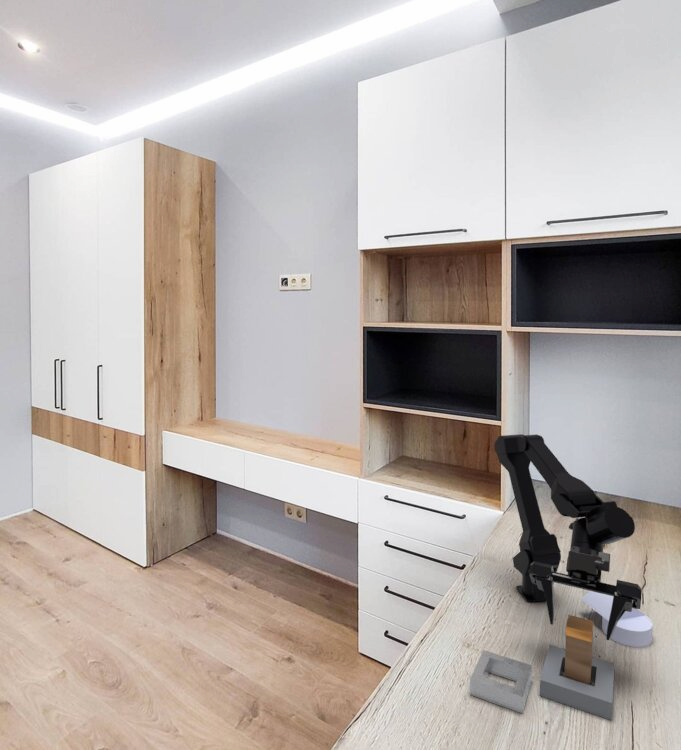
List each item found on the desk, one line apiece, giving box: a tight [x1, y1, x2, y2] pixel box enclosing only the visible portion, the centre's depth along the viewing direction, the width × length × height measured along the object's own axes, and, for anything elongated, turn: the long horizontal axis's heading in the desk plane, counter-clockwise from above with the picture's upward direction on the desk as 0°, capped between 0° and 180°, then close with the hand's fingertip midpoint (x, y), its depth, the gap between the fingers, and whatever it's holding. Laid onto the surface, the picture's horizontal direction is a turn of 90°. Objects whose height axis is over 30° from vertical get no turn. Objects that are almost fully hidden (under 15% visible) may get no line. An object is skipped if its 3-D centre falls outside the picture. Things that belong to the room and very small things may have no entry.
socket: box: [539, 644, 615, 721], centre depth 88 cm, size 11×11×3 cm
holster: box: [469, 649, 533, 714], centre depth 88 cm, size 9×9×3 cm
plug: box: [564, 614, 594, 686], centre depth 88 cm, size 4×4×12 cm
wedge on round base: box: [580, 590, 654, 648], centre depth 105 cm, size 9×7×13 cm
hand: (578, 631), depth 89 cm, fingers open, 9 cm apart
